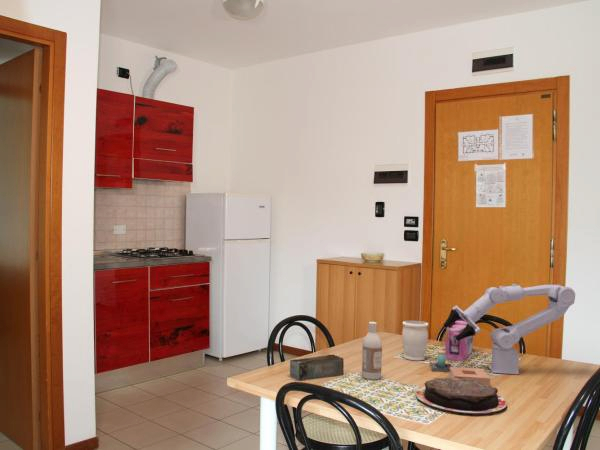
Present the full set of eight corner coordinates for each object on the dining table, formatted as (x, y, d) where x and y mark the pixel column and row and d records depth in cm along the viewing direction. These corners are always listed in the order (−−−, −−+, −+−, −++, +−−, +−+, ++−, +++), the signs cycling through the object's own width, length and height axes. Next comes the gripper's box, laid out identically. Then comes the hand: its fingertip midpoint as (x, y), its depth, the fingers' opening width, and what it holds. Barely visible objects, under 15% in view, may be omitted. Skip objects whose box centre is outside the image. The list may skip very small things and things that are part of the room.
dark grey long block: (288, 375, 190) (289, 357, 190) (333, 370, 199) (333, 352, 199) (298, 381, 183) (299, 363, 182) (344, 375, 192) (345, 357, 191)
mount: (450, 366, 206) (450, 363, 206) (453, 372, 198) (453, 369, 198) (429, 365, 207) (429, 362, 207) (431, 371, 199) (432, 368, 199)
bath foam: (370, 381, 184) (371, 325, 184) (357, 376, 190) (359, 321, 190) (385, 378, 188) (386, 323, 188) (372, 373, 194) (373, 320, 194)
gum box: (463, 362, 213) (464, 329, 213) (443, 359, 216) (444, 327, 216) (473, 350, 234) (473, 320, 234) (455, 348, 238) (455, 318, 238)
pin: (444, 368, 204) (445, 350, 204) (445, 370, 201) (446, 352, 201) (436, 367, 204) (437, 349, 204) (437, 369, 201) (438, 351, 201)
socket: (482, 376, 194) (482, 368, 194) (489, 386, 182) (490, 378, 182) (449, 374, 195) (449, 366, 195) (454, 384, 183) (454, 376, 183)
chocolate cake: (437, 382, 186) (438, 364, 186) (518, 400, 169) (519, 380, 169) (399, 402, 165) (400, 381, 165) (488, 425, 147) (488, 402, 147)
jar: (425, 355, 222) (426, 320, 222) (429, 362, 212) (430, 325, 212) (400, 354, 223) (401, 319, 223) (402, 361, 213) (403, 324, 213)
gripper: (462, 294, 205) (435, 316, 205) (486, 317, 194) (458, 340, 194) (467, 302, 209) (441, 324, 210) (492, 325, 198) (464, 348, 198)
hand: (450, 332), depth 202 cm, fingers open, 7 cm apart
